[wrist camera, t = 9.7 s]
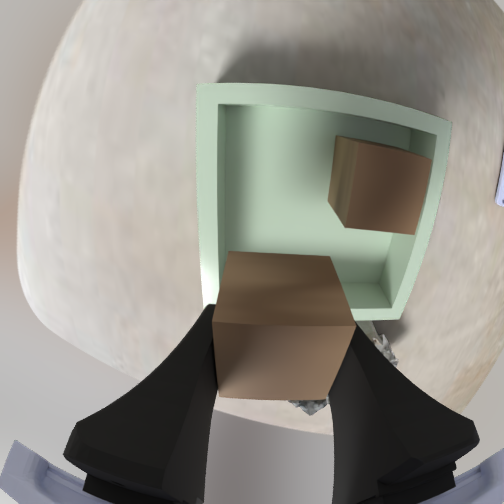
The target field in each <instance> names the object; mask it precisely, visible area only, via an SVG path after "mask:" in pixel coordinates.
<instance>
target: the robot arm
mask: <svg viewBox="0 0 504 504" xmlns="http://www.w3.org/2000/svg"><path fill="white" fill-rule="evenodd" d="M495 202H496V203H497V204H498V205H500V206H503V207H504V154H503V161H502V167H501V173H500V178H499V183H498V188H497V192H496V197H495ZM215 306H216V304H208V305H207V306H206V307H205V309H204V310H203V312H202V313H201V315H200V316H199V318H198V319H197V321H196V322H195V324H194V325H193V326H192V328H191V329H190V330H189V332H188V333H187V334H186V336H185V337H184V338H183V339H182V341H181V342H180V343H179V344H178V345H177V347H176V348H175V349H174V350H173V351H172V352H171V353H170V354H169V356H168V357H167V358H166V359H165V360H164V361H163V362H162V363H161V364H160V365H159V366H158V367H157V368H156V369H155V370H154V371H153V372H152V373H151V374H149V375H148V376H147V377H146V378H145V379H144V380H142V381H141V382H140V383H139V384H138V385H136V386H135V387H134V388H133V389H131V390H130V391H129V392H127V393H126V394H125V395H123V396H122V397H120V398H119V399H117V400H116V401H114V402H113V403H111V404H110V405H108V406H107V407H105V408H103V409H101V410H100V411H98V412H96V413H94V414H92V415H90V416H88V417H87V418H85V419H83V420H81V421H78V422H77V423H76V425H75V427H74V429H73V430H72V433H71V435H70V437H69V440H68V443H67V445H66V448H65V450H64V453H63V455H64V457H65V458H66V460H68V461H69V462H71V463H72V464H73V465H75V466H76V467H78V468H79V469H81V470H82V471H84V472H86V473H87V477H86V480H85V481H84V480H82V479H80V478H77V477H76V476H74V475H72V474H69V473H67V472H66V471H63V470H62V469H60V468H58V467H56V466H54V465H52V464H51V463H49V462H48V461H47V460H46V459H44V458H43V457H41V456H40V455H38V454H37V453H35V452H34V451H32V450H30V449H29V448H27V447H26V446H24V445H23V444H21V443H20V442H18V441H17V440H14V443H13V445H12V448H11V450H10V452H9V455H8V457H7V460H6V463H5V465H4V468H3V471H2V473H1V476H0V488H1V489H2V490H3V491H4V492H6V493H7V494H8V495H9V496H10V497H12V498H13V499H14V500H15V501H17V502H18V503H19V504H203V503H204V489H205V475H206V463H207V453H208V452H207V451H208V442H209V434H210V425H211V418H212V412H213V408H214V403H215V399H216V395H217V390H218V382H217V372H216V362H215V352H214V341H213V329H212V319H213V315H214V310H215ZM354 321H355V320H354ZM355 323H356V322H355ZM328 397H329V402H330V407H331V412H332V419H333V432H334V486H333V498H332V504H501V503H502V502H504V448H503V449H502V450H500V451H499V452H497V453H495V454H494V455H492V456H491V457H489V458H488V459H486V460H485V461H483V462H482V463H481V464H480V465H478V466H476V467H474V468H472V469H470V470H469V471H467V472H465V473H463V474H461V475H459V476H457V477H455V478H454V476H453V472H452V471H454V470H456V464H455V461H457V460H458V459H459V458H461V457H462V456H464V455H465V454H467V453H468V452H469V451H471V450H472V449H473V448H475V447H476V446H477V445H478V443H479V441H480V439H479V436H478V433H477V430H476V428H475V425H474V422H473V421H472V420H470V419H468V418H466V417H464V416H462V415H460V414H458V413H456V412H454V411H452V410H450V409H449V408H447V407H446V406H444V405H442V404H441V403H439V402H438V401H436V400H435V399H433V398H432V397H430V396H429V395H427V394H426V393H425V392H424V391H422V390H421V389H420V388H418V387H417V386H416V385H415V384H413V383H412V382H411V381H410V380H409V379H408V378H406V377H405V376H404V375H403V374H402V373H401V372H400V371H399V370H398V369H397V368H396V367H395V366H394V365H393V364H392V363H391V362H390V361H389V360H388V359H387V358H386V357H385V356H384V355H383V354H382V353H381V352H380V351H379V349H378V348H377V347H376V346H375V345H374V344H373V342H372V341H371V340H370V339H369V338H368V336H367V335H366V334H365V333H364V332H363V330H362V329H361V328H360V327H359V325H358V324H357V323H356V328H355V331H354V334H353V336H352V339H351V341H350V344H349V346H348V349H347V351H346V354H345V356H344V359H343V361H342V363H341V366H340V368H339V370H338V373H337V375H336V377H335V379H334V382H333V384H332V386H331V388H330V390H329V393H328Z"/></svg>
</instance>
